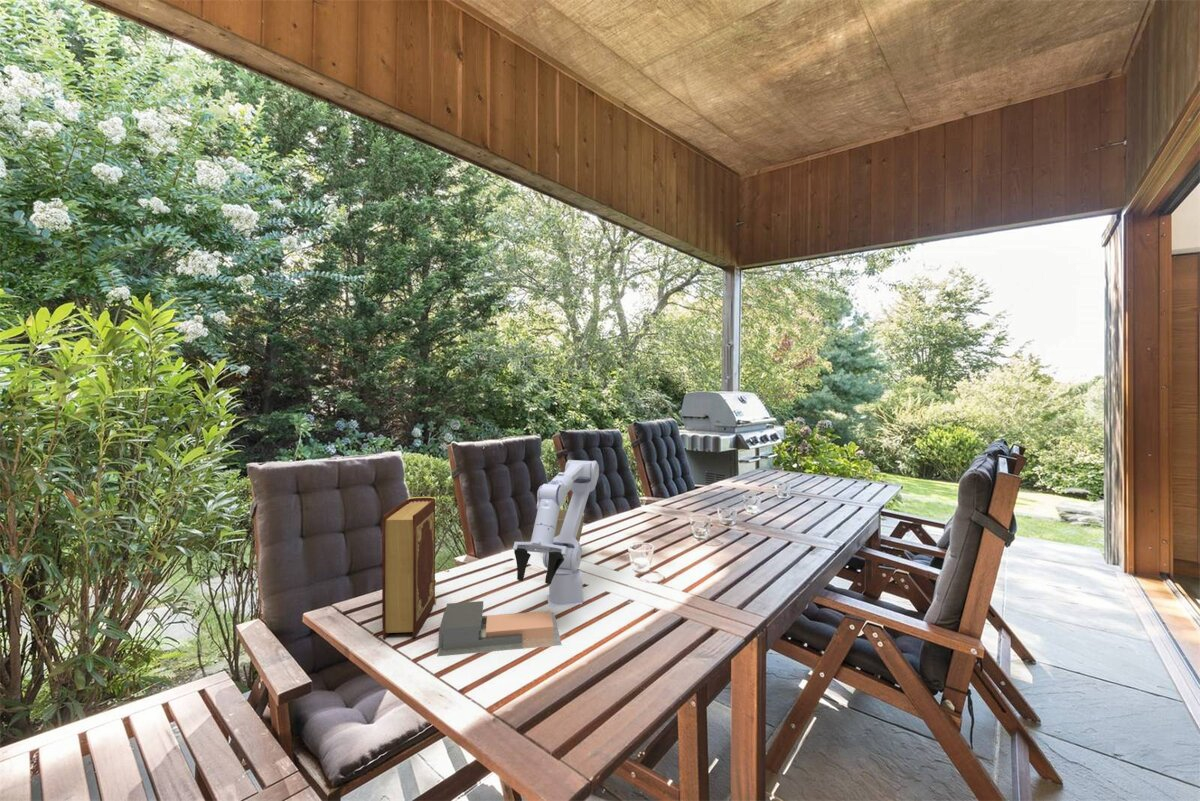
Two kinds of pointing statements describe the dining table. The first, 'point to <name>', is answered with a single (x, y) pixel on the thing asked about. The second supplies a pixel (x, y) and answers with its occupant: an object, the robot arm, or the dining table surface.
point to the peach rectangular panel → (521, 625)
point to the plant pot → (560, 522)
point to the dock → (481, 633)
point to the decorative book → (408, 565)
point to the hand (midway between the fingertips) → (533, 582)
